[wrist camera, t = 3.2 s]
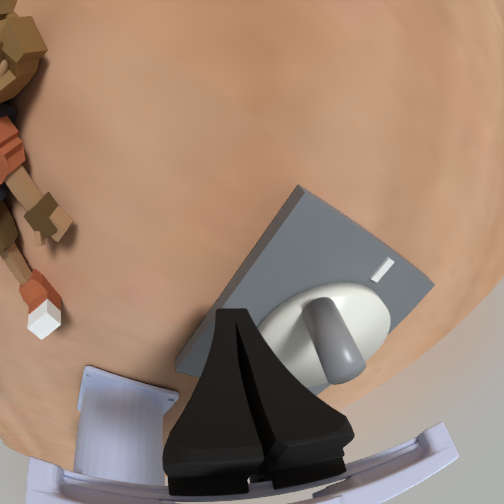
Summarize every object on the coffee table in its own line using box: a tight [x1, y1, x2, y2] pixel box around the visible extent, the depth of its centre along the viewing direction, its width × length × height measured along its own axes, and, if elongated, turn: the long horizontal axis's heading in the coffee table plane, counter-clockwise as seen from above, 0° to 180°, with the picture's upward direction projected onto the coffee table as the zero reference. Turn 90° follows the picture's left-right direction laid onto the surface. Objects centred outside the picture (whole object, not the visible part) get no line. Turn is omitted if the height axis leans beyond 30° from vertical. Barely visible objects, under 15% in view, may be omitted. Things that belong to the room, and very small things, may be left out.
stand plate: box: [175, 185, 435, 395], centre depth 18 cm, size 14×13×1 cm
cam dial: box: [258, 282, 390, 387], centre depth 15 cm, size 9×9×5 cm
